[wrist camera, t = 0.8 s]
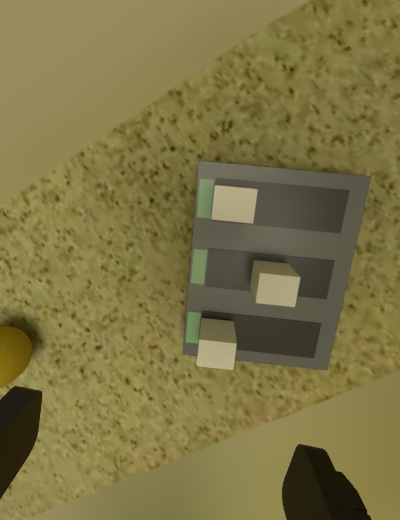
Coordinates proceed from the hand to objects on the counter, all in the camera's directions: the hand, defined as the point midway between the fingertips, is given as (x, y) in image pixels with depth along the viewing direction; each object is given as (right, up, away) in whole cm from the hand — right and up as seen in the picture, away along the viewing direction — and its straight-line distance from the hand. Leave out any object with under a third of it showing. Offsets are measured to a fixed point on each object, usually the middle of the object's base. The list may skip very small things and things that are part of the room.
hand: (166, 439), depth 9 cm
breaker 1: (+4, +10, +16) cm, 19 cm away
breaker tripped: (+7, +4, +17) cm, 19 cm away
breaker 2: (+3, -1, +19) cm, 19 cm away
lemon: (-19, -3, +24) cm, 31 cm away
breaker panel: (+7, +5, +20) cm, 22 cm away
